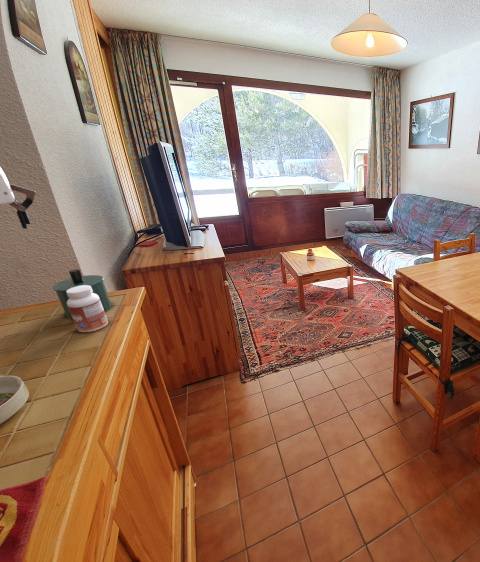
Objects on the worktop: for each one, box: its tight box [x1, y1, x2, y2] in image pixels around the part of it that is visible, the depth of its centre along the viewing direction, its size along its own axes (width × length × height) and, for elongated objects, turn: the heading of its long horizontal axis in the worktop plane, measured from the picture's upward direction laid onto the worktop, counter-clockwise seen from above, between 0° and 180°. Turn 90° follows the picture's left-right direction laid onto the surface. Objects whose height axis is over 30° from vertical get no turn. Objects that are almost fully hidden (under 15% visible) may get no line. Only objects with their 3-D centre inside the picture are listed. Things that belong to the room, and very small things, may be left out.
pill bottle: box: [66, 285, 109, 333], centre depth 79 cm, size 6×6×11 cm
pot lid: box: [52, 268, 105, 292], centre depth 85 cm, size 11×11×5 cm
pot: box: [55, 281, 112, 320], centre depth 88 cm, size 10×15×8 cm, turn 30°
